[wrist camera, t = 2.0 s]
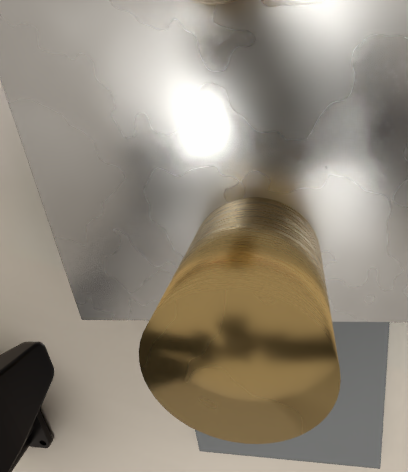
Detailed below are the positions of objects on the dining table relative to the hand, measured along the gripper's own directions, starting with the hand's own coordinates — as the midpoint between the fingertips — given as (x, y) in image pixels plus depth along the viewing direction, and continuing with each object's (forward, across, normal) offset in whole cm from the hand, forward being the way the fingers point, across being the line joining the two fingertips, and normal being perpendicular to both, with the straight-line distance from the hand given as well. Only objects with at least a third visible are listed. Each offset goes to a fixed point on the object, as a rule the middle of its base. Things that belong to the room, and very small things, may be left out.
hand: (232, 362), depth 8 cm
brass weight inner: (+5, 0, 0) cm, 5 cm away
